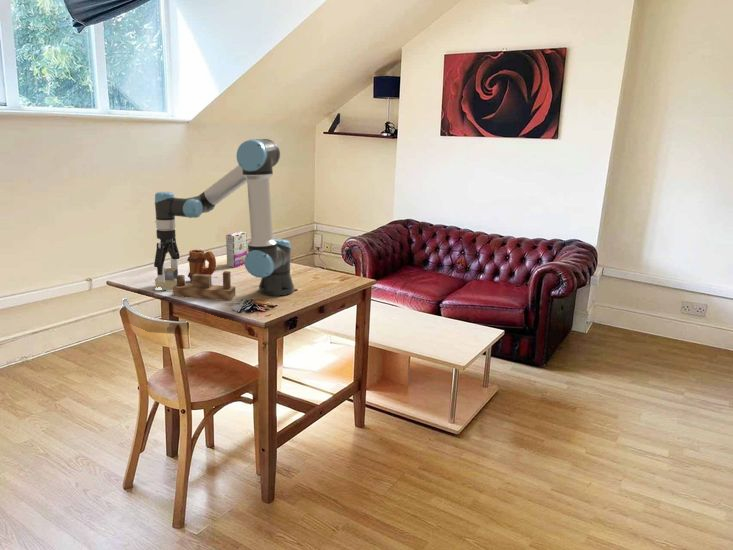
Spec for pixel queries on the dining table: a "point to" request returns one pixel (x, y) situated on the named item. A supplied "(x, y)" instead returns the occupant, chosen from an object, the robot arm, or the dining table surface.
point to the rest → (166, 284)
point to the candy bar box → (236, 249)
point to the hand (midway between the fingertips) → (168, 277)
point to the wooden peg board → (204, 287)
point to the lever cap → (170, 273)
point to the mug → (201, 263)
